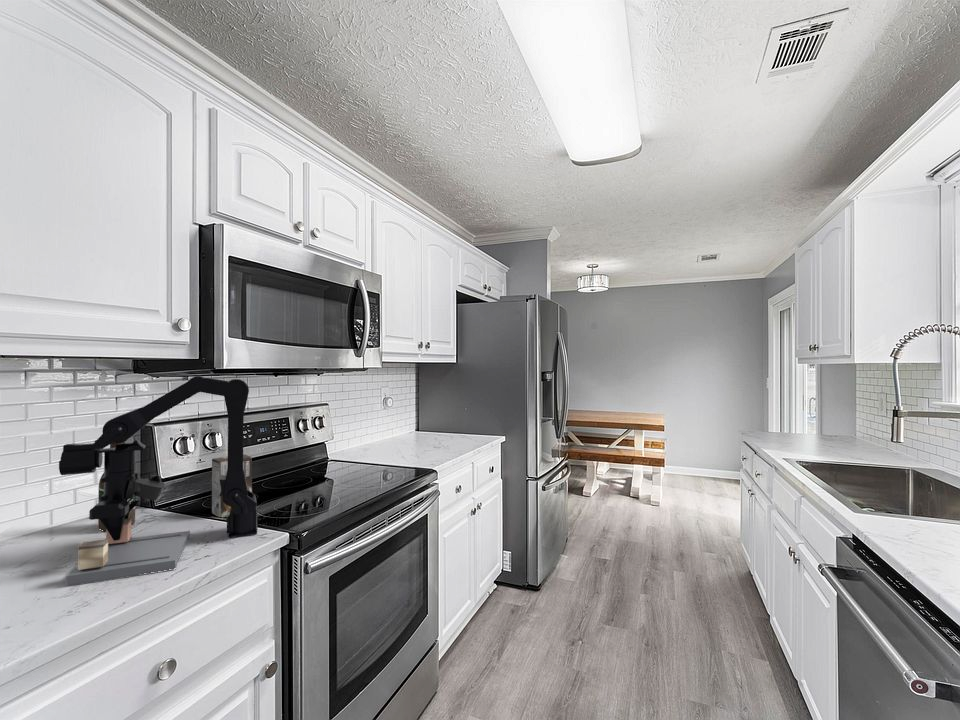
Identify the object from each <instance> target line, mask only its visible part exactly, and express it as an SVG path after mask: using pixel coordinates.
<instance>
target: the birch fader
mask: <svg viewBox="0 0 960 720" xmlns="http://www.w3.org/2000/svg"><path fill="white" fill-rule="evenodd" d="M77 551H78V552H77V553H78V555H77V558H78V559H77V561H78V562H77V565H78V570H82V569H89V568H96V567H103V566H104V565H105V564H106V562H107V561H108V539H106V538H105V539H97V540H89V541H83V542H82V543H81V544H80V545H79V546H78V547H77Z"/></svg>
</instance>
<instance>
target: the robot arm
mask: <svg viewBox="0 0 960 720" xmlns="http://www.w3.org/2000/svg"><path fill="white" fill-rule="evenodd" d="M249 392H250V390H249V385H248V383H247V382H246V381H244V380H242V379H241V378H233V379H229V380H223V379H217V378H210V377H205V376H202V375H196V376H193V377H191V378H190V379H189V380H188V381H186V382H185V383H183V384H181V385H179V386H178V387H175V388H174V389H173V390H170V391H169V392H167V393H165V394H163V395H161V396H160V397H158V398H157V399H155V400H153V401H151V402H150V403H147V404H146V405H144V406H141V407H138V408H136V409H134V410H131V411H128V412H126V413H122V414H119V415H118V416H115V417H113V418H111V419H109V420H108V421H106V422H105V423H104V425H103V427H102V431H101V432H102V434H101V435H100V437H98V438H97V439H95V440H94V442H93V443H89V442H88V443H65V444H64V445H63V446H62V452H61V456H60V460H59V461H58V470H59V475H60V476H67V475H69V476H70V475H78V474H79V475H82V474H92V473H95V472H96V470H97V468H98V469H99V468H100V469H101V468H102V465H103V464H104V465H103V473H104V477H102V478H101V477H100V478H101V483H103V482H104V494H103V495H102V496H101V501H102V502H99V503H96V504H95V505H94V506H93V507H92V508H91V509H90V510H89V513H88V516H89V517H88V519H89V520H92V521H94V520H98V519H100V520H101V522H102V523H103V524H104V526H105V527H106V529H107V530H108V532H109V534H110V535H111V537H112V538H113V540H114V541H116V540H120V537H121V533H122V528H123V523H124V519H128V518H129V516H130V513H131V511H132V509H133V508H134V507H135V508H136V506H137V505H138V504H139V503H140V502H141V500H135V501H133V498H134V496H135V497H138V498H144V499H148V500H149V501H157V500H158V499H159V498H160V496H161V494H162V492H163V490H164V486H165V481H162V476H161V475H159V474H154V475H152V476H151V477H150V478H149V479H148V478H140V473H139V472H138V471H136V451H143V450H144V449H146V444H144V443H143V442H141V441H140V440H139V438H137V439H135V440H134V441H133V442H126V440H127V441H128V440H129V439H131V437H133V436H134V435H136V434H137V433H138V432H140V431H141V429H143V428H144V427H145V426H147V425H148V424H149V423H151V421H153V420H154V419H156V418H157V417H159V416H161V415H163V414H164V413H165V412H167V411H169V410H171V409H173V408H175V407H176V406H178V405H179V404H181V403H183V402H185V401H187V400H188V399H189V398H192V397H193V396H195V395H197V394H198V393H203V394H208V395H209V394H210V395H215V396H221V397H223V398H224V403H225V408H226V412H227V456H228V467H227V471H226V475H220V486H221V487H220V490H219V497H220V496H222V499H223V502H224V503H225V504H226V505H227V506H230V507H231V508H230V514H228V516H226V533H227V536H228V538H230V539H231V538H235V537H237V538H238V537H244V536H245V537H246V536H252V535H257V534H258V528H259V527H258V502H257V498H256V494H254V493H253V491H252V492H250V491H249V490H248V489H247V485H246V480H245V475H244V469H243V454H244V417H245V416H244V415H245V411H246V406H247V403H248V402H247V401H248V398H249V394H250V393H249ZM124 441H125V443H122V444H117V445H116V448H110V447H108V446H110V444H111V443H113V442H115V443H120V442H124ZM103 453H104V455H103ZM103 457H104V458H103ZM103 459H104V460H103ZM105 500H108V501H105Z"/></svg>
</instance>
